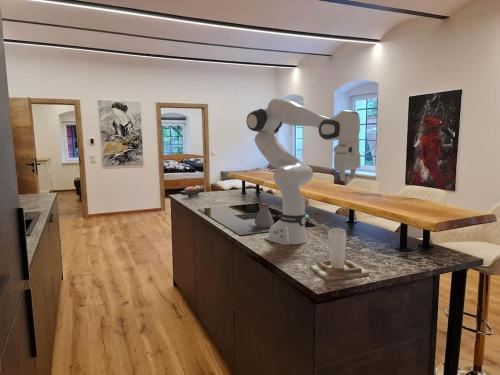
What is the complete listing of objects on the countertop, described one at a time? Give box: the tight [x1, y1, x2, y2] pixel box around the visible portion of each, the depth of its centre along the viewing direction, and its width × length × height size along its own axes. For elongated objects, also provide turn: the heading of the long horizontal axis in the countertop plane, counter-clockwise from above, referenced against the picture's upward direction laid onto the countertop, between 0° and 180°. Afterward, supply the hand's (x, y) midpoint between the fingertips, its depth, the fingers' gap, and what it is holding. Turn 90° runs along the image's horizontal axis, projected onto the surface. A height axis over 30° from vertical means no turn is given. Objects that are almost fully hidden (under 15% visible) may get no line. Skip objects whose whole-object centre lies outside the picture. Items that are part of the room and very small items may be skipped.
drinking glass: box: [327, 227, 347, 269], centre depth 143 cm, size 7×7×15 cm
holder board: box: [309, 258, 370, 282], centre depth 143 cm, size 14×18×3 cm
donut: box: [305, 213, 310, 223], centre depth 229 cm, size 12×12×4 cm
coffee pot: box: [254, 197, 275, 229], centre depth 219 cm, size 21×12×15 cm, turn 9°
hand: (347, 179), depth 160 cm, fingers open, 8 cm apart
